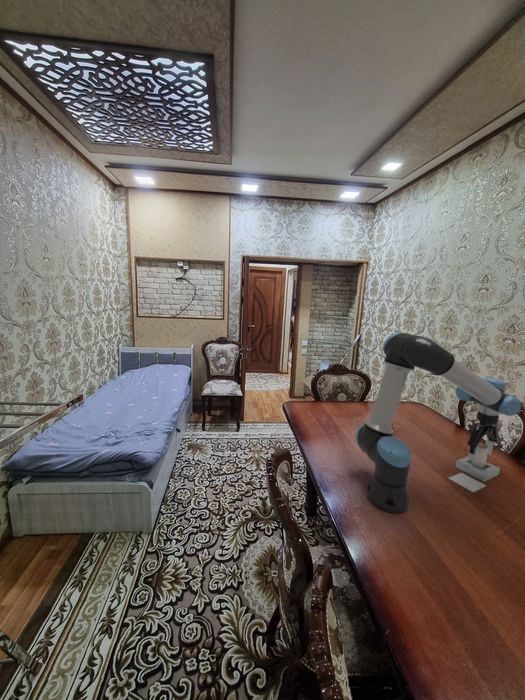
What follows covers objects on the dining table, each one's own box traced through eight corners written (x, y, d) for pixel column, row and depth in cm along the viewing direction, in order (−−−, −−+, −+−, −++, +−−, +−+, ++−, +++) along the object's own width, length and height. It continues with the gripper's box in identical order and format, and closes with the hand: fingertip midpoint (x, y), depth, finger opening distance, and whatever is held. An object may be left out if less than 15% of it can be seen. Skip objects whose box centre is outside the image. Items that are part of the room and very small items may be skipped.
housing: (484, 481, 123) (486, 474, 122) (455, 467, 133) (456, 460, 133) (498, 475, 128) (500, 468, 128) (469, 461, 139) (471, 455, 138)
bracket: (391, 439, 158) (393, 428, 157) (376, 434, 163) (378, 423, 162) (399, 429, 172) (401, 418, 171) (385, 425, 177) (387, 414, 176)
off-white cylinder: (479, 475, 128) (485, 448, 125) (467, 469, 132) (472, 443, 130) (485, 472, 130) (491, 446, 128) (473, 467, 134) (478, 441, 132)
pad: (473, 492, 115) (473, 491, 115) (448, 478, 124) (448, 477, 124) (486, 486, 120) (486, 485, 120) (461, 473, 129) (461, 472, 129)
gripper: (482, 420, 117) (473, 467, 121) (512, 412, 128) (503, 455, 132) (463, 413, 124) (455, 458, 127) (492, 406, 135) (484, 447, 139)
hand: (479, 456), depth 130 cm, fingers open, 13 cm apart
